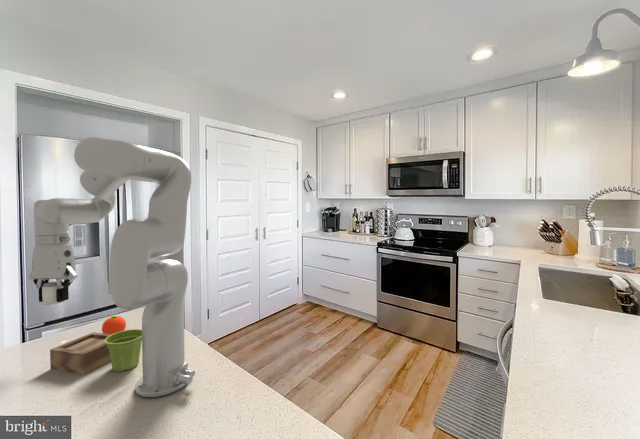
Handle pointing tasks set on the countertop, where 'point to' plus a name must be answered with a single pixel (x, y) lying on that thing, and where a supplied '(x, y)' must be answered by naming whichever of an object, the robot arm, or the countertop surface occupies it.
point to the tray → (81, 354)
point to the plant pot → (124, 349)
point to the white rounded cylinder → (49, 293)
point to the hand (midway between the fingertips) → (54, 300)
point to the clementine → (113, 325)
